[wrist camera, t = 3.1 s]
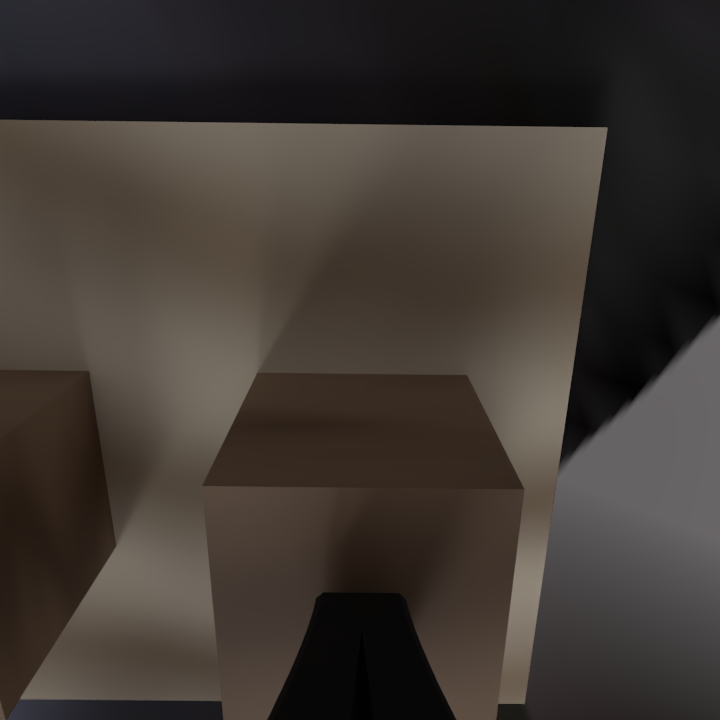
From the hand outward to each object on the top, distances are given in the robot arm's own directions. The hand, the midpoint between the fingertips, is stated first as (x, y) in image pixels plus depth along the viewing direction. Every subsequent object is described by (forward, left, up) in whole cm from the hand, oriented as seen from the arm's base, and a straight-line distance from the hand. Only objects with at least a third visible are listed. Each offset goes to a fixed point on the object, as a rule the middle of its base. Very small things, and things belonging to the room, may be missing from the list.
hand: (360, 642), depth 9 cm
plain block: (0, 0, -6) cm, 6 cm away
